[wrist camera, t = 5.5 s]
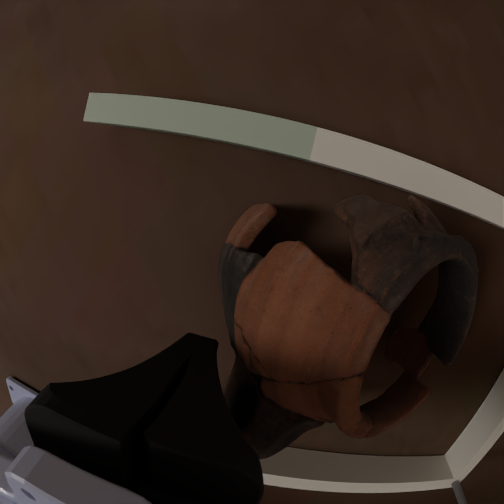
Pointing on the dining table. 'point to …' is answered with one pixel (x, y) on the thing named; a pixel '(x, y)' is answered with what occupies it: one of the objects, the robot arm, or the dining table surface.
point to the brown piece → (338, 321)
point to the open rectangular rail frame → (370, 167)
